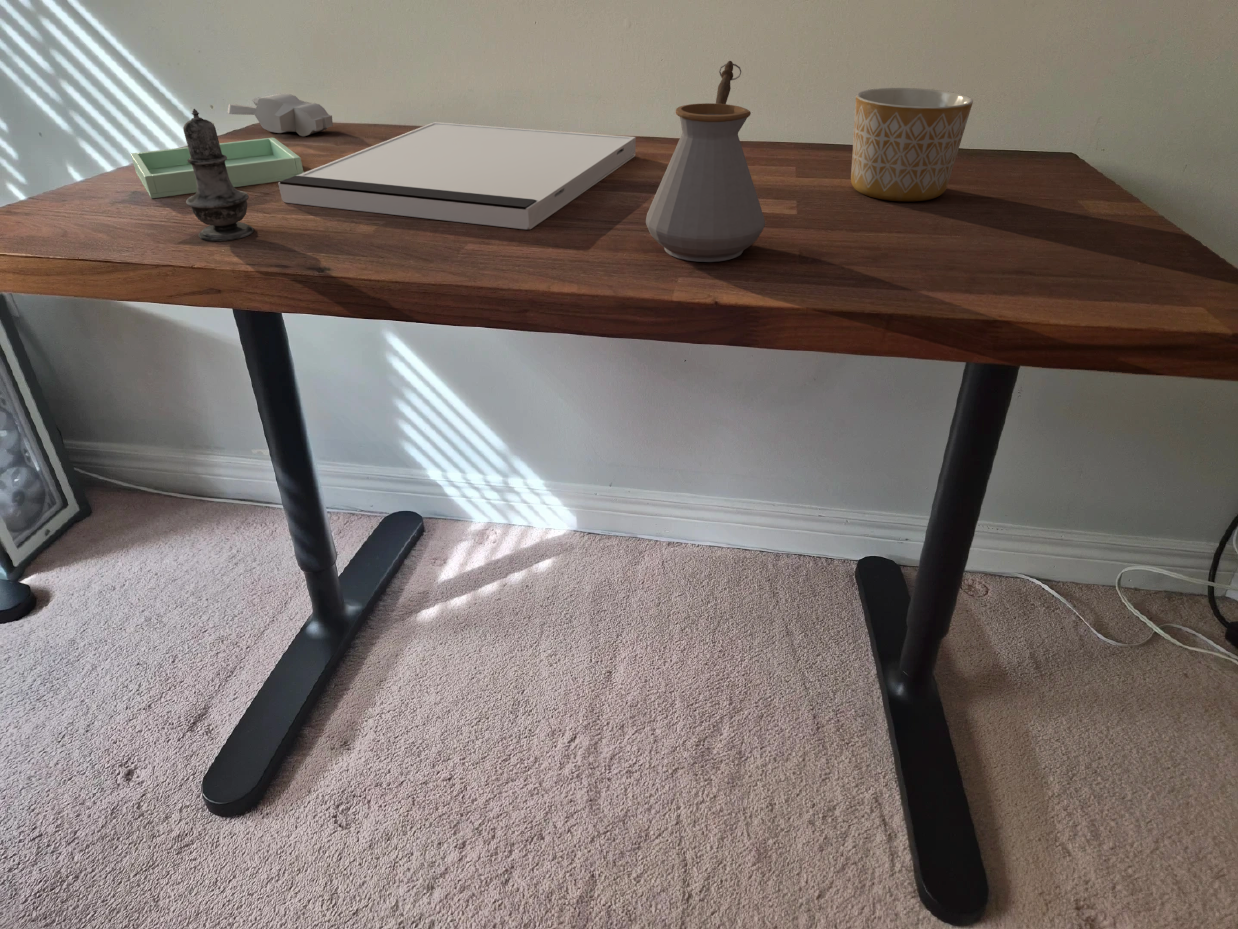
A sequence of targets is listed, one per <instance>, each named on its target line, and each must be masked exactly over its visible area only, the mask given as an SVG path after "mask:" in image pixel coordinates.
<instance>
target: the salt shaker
mask: <svg viewBox="0 0 1238 929" xmlns="http://www.w3.org/2000/svg"><path fill="white" fill-rule="evenodd" d="M190 114H191V115H193V117H192V118H191V119H190V120H188V121H187V122H185V124H184V125H183V128H182V129H183V134H184V138H185V142H186V145H187V147H188V149H189V153H190V156H191V157H190V158H189V159H188V160H187V161H188V163H190V164H191V165H192V167H193V171H194V174H195V178H196V183H197V192H196V193H194V195H191V196H189V197H188V198H187V199H186V201H185V203H186V205H187V206H189V207H190V209H191V212H192V213H193V214H194V216H195V217H196V219H197V220H198V221H200V222H201V223H203V224H204V225H208V226H206V227H204V228H203V229H202V230H201V231H200V232H199V233H198V238H199V239H201V240H203V241H207V242H227V241H235V240H239V239H243V238H246V237H248V236H250V235H252V234H253V233H254V232H255V229H254V227H253V226H251V225H249V224H248V223H245V222H242V220H243V219H244V217H245V216H246V215H247V212H248V211H247V210H248V199H249V197H250V195H249V194H248V193H247V192H246V191H242V190H238V189H236V187H233V185H232V183H231V181H230V179H229V177H228V173H227V169H226V165H225V160H226V159H227V156H225V155H223V154H222V152H221V148H220V144H219V143H220V140H219V137H218V136H219V135H218V132H217V130H216V126H215V124H214V123H213V122H212V121H210V120H208V119H204V118H203V117H200V116H199V115H200V112H198V110H197V109H196V108H193V109H192V111H191V113H190Z"/></svg>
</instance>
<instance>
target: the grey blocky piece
mask: <svg viewBox="0 0 1238 929" xmlns="http://www.w3.org/2000/svg"><path fill="white" fill-rule="evenodd" d="M251 101H252V102H253V105H254V106H253V105H246V104H236V103H229V104H228V108H227V114H228V115H235V116H236V115H237V116H238V115H240V116H242V115H243V116H245V115H247V116H251V115H252V116H253V115H254V116H255V118H256V121H258V123H259V124H260V126H261V127H262V129H263V130H265V131H268V132H269V133H275V134H276V133H277V134H282V133H289V132H291V133H292V132H293V133H297V134H298V135H299V136H300V137H306V136H309V135H313V134H316V133H320V132H323V131H326V130H327V129H328V128H331V127H333V126H334V123H333V115H331V114H329V113H328V112H327V110H326V109H325V107H323V106H322V105H321V104H320V103H316V102H308V101H304V100H301V99H299V97H297V96H296V95H294V94H291V93H287V92H279V93H275V94H271V95H267V96H261V97H260V96H259V97H255V98H253V99H252V100H251Z"/></svg>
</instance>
